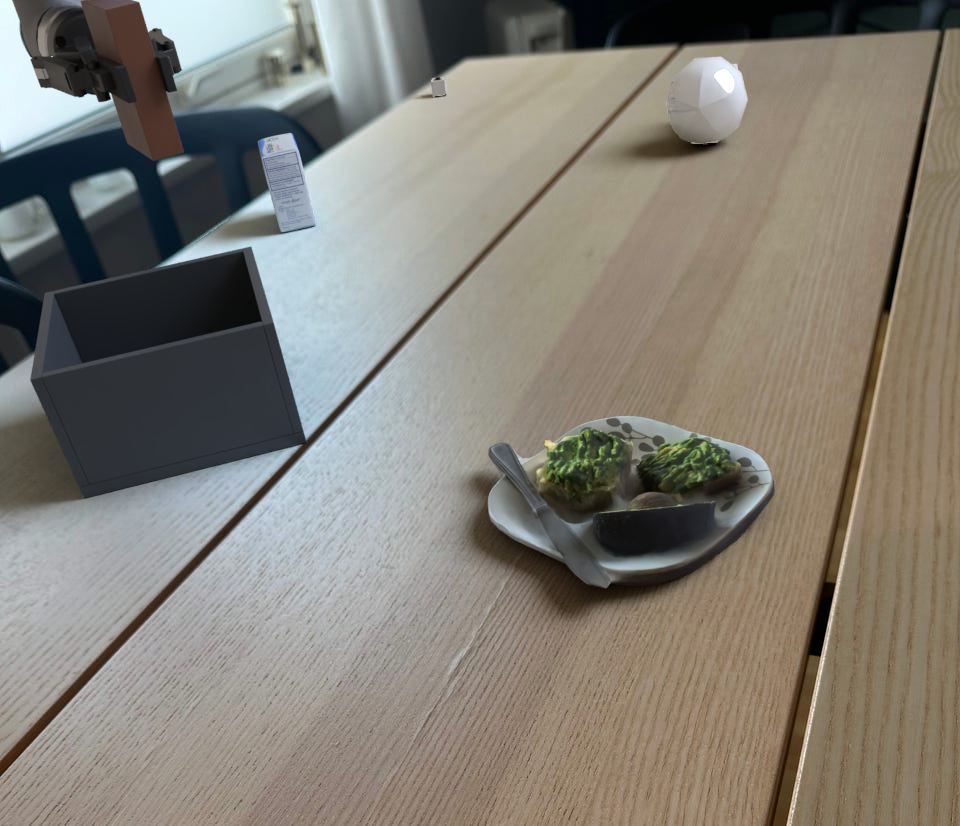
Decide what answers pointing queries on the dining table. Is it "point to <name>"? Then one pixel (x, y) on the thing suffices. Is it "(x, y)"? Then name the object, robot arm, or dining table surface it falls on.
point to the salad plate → (629, 499)
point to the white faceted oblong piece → (706, 100)
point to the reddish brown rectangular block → (135, 76)
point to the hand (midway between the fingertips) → (147, 79)
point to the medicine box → (286, 182)
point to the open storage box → (163, 372)
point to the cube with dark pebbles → (438, 86)
